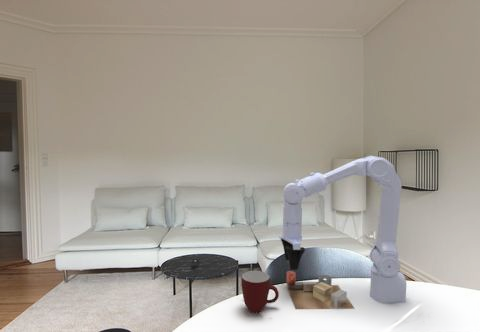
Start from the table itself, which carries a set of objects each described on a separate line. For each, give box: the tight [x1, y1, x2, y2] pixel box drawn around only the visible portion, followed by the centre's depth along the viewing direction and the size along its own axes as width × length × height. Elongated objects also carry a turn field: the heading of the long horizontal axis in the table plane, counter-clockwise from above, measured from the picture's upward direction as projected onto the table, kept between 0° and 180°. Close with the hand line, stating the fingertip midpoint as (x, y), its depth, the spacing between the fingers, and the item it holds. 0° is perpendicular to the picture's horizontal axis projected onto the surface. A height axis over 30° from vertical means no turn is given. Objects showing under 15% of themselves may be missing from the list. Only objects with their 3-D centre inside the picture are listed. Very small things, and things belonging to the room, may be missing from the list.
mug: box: [240, 270, 280, 315], centre depth 92 cm, size 11×8×10 cm
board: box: [286, 284, 356, 310], centre depth 99 cm, size 17×15×1 cm
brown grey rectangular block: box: [330, 288, 348, 310], centre depth 94 cm, size 5×2×4 cm, turn 130°
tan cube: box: [313, 282, 332, 302], centre depth 98 cm, size 4×4×4 cm
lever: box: [286, 270, 332, 291], centre depth 104 cm, size 14×5×5 cm, turn 92°
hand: (291, 264), depth 102 cm, fingers open, 7 cm apart
